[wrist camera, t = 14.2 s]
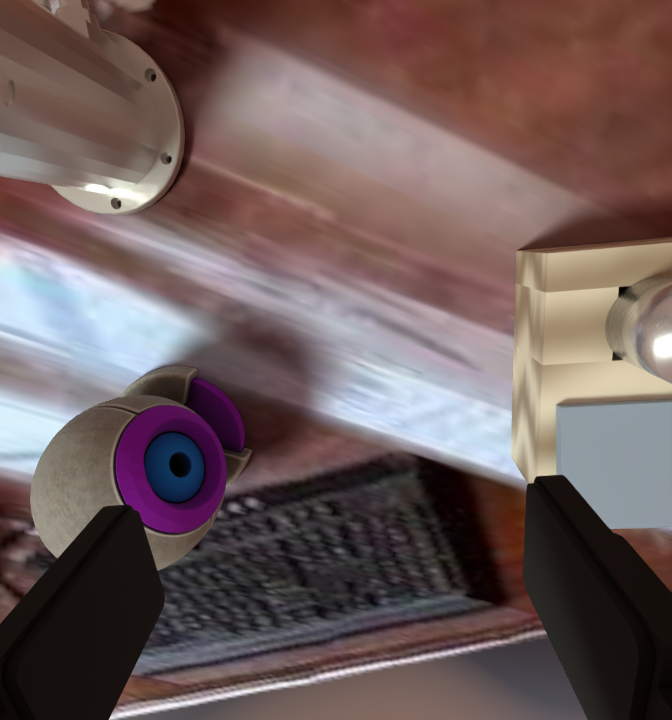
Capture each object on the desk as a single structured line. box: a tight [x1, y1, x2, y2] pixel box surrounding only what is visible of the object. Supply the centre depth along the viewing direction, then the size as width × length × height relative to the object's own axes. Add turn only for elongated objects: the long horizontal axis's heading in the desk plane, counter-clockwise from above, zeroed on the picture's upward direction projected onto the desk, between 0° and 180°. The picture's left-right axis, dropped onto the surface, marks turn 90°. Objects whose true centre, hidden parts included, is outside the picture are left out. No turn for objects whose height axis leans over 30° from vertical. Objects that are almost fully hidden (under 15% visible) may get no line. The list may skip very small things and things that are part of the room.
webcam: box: [30, 366, 252, 571], centre depth 32 cm, size 13×13×15 cm
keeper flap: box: [556, 399, 672, 529], centre depth 29 cm, size 9×12×1 cm
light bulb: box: [605, 276, 672, 384], centre depth 27 cm, size 6×6×10 cm
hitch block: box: [511, 237, 672, 484], centre depth 31 cm, size 18×14×6 cm
